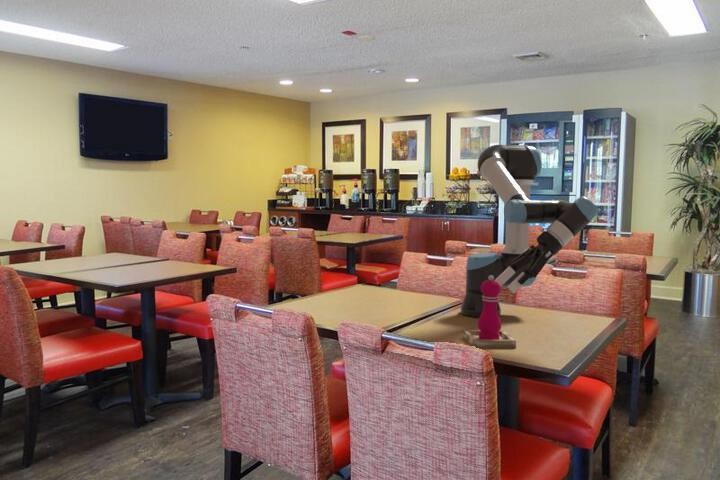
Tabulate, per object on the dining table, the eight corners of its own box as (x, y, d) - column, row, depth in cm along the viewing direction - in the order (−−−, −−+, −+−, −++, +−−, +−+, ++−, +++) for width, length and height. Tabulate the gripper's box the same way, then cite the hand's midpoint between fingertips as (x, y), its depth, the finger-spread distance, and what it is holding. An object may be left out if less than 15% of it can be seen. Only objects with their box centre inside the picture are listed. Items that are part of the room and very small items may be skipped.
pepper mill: (474, 336, 180) (476, 273, 178) (496, 336, 181) (498, 273, 179) (481, 342, 173) (483, 276, 171) (504, 341, 173) (506, 276, 172)
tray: (463, 336, 183) (463, 330, 183) (503, 337, 183) (503, 330, 183) (472, 347, 170) (473, 340, 170) (515, 347, 171) (516, 340, 170)
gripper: (579, 251, 163) (525, 303, 164) (547, 243, 188) (500, 288, 188) (561, 232, 162) (507, 284, 163) (532, 227, 187) (485, 272, 188)
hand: (503, 286), depth 176 cm, fingers open, 13 cm apart
